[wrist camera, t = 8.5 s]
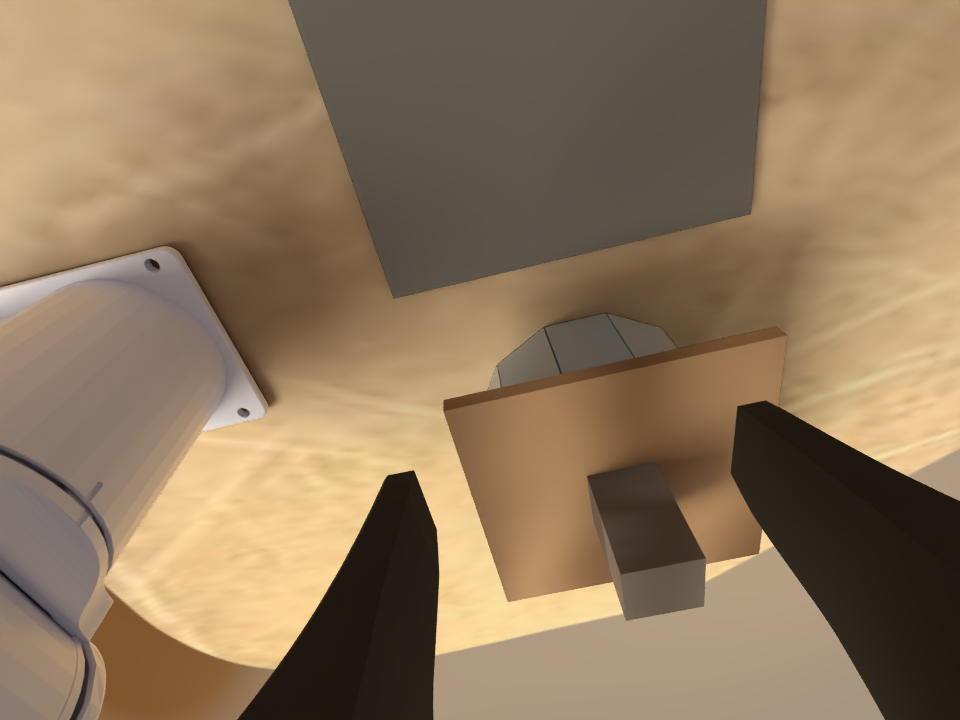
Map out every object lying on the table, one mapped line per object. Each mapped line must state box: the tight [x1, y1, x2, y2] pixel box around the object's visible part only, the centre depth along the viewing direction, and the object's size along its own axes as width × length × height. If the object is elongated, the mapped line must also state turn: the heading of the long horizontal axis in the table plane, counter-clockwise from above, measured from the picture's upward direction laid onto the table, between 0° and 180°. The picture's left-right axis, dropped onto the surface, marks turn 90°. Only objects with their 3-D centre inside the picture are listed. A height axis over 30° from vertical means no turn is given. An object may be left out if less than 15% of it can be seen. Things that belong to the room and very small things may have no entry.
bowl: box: [487, 313, 678, 391], centre depth 21 cm, size 10×10×5 cm
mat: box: [288, 0, 766, 299], centre depth 15 cm, size 14×14×1 cm
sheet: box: [444, 327, 787, 621], centre depth 17 cm, size 11×11×5 cm
